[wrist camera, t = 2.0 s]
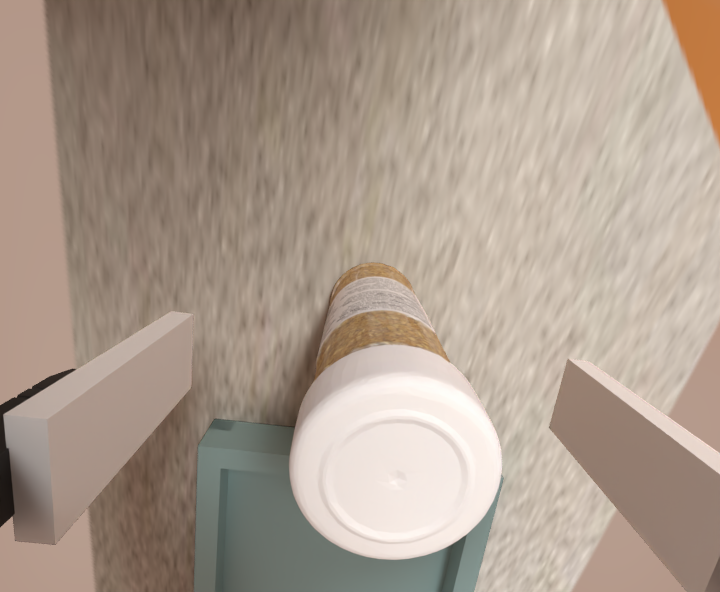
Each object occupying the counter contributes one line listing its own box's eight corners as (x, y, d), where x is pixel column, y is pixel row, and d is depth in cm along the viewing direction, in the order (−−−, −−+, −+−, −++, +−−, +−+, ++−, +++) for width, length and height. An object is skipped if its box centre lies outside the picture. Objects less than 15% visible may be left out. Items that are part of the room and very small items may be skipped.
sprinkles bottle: (396, 353, 22) (454, 593, 9) (317, 326, 21) (257, 537, 8) (428, 276, 21) (548, 422, 8) (346, 246, 20) (326, 348, 7)
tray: (214, 418, 23) (197, 445, 20) (488, 448, 23) (503, 478, 21) (206, 627, 27) (191, 670, 24) (439, 648, 28) (447, 692, 25)
